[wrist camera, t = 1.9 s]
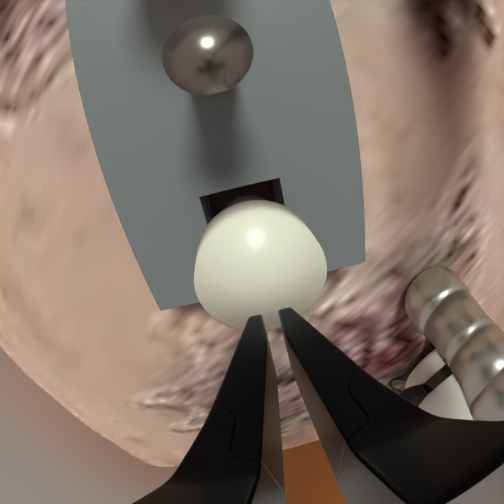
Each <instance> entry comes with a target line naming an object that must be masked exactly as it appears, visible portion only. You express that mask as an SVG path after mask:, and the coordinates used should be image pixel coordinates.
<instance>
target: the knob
mask: <svg viewBox="0 0 504 504" xmlns="http://www.w3.org/2000/svg"><path fill="white" fill-rule="evenodd" d="M326 276H327V263H326V258H325V255H324V252H323V250H322V248H321V246H320V244H319V243H318V241H317V240H316V238H315V237H314V235H313V234H312V232H311V231H310V229H309V228H308V227H307V225H306V224H305V222H304V221H303V220H302V218H301V217H300V216H299V215H298V214H297V213H295V212H294V211H293V210H291V209H290V208H288V207H286V206H284V205H282V204H279V203H276V202H272V201H267V200H266V199H264V198H262V197H259V196H256V195H242V196H239V197H236V198H234V199H232V200H230V201H229V202H228V203H227V204H226V205H225V206H224V207H223V208H222V210H221V212H220V213H219V214H217V215H216V216H215V217H214V218H213V219H212V220H211V221H210V222H209V223H208V225H207V226H206V227H205V229H204V231H203V233H202V235H201V237H200V240H199V243H198V248H197V255H196V263H195V271H194V287H195V291H196V295H197V297H198V299H199V301H200V303H201V305H202V306H203V308H204V309H205V310H206V311H207V312H208V313H209V314H210V315H211V316H212V317H213V318H215V319H216V320H218V321H219V322H221V323H223V324H225V325H227V326H230V327H233V328H236V329H241V330H244V328H245V325H246V323H247V320H248V318H249V317H250V316H254V315H258V314H261V315H262V317H263V320H264V324H265V328H266V330H269V329H274V328H277V327H281V323H280V318H279V313H278V311H279V310H280V309H283V308H287V307H291V308H292V309H294V310H295V311H296V312H297V313H298V314H299V315H300V316H302V315H303V314H304V313H305V312H307V311H308V310H309V309H310V308H311V307H312V306H313V304H314V303H315V302H316V301H317V299H318V298H319V296H320V294H321V292H322V290H323V288H324V285H325V281H326Z"/></svg>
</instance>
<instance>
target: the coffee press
mask: <svg viewBox="0 0 504 504" xmlns="http://www.w3.org/2000/svg"><path fill="white" fill-rule="evenodd" d="M431 345H432V349H433V351H432V352H431V353H429V354H428V355H427V356H426V357H425V358H424V359H423V360H422V361H421V362H420V363H419V364H418V365H417V366H416V367H415V368H414V370H413V371H412V372H411V374H410V375H409V377H408V379H406V380H401V379H393V380H392V381H391V382H390V387H391V390H392V391H393V392H395V393H398V394H400V396H402V397H403V398H405V399H406V400H408V401H410V402H411V403H413V404H415V405H416V406H418V407H420V408H421V409H423V410H425V411H426V412H428V413H431V414H433V415H436V416H439V417H444V418H453V419H466V420H473V419H472V416H471V414H470V412H469V408H468V407H467V404H466V401H465V399H464V396H463V394H462V391H461V389H460V386H459V384H458V382H457V380H456V378H455V376H454V375H453V373H452V371H451V367H449V366H448V364H447V362H446V360H445V359H444V357H443V356H442V355H441V354H440V352H439V351H438V350H437V349H436V348H435V346H434V345H433V344H432V343H431ZM395 383H398V384H405V390H404V391H403V392H402V391H401V390H398V389H396V388H393V387H392V385H393V384H395Z"/></svg>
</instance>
